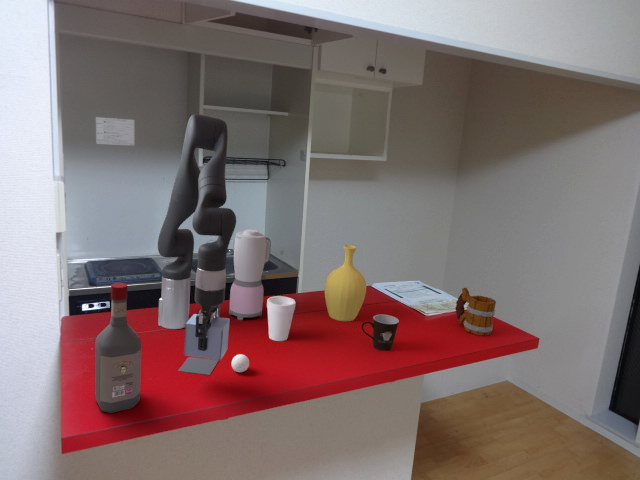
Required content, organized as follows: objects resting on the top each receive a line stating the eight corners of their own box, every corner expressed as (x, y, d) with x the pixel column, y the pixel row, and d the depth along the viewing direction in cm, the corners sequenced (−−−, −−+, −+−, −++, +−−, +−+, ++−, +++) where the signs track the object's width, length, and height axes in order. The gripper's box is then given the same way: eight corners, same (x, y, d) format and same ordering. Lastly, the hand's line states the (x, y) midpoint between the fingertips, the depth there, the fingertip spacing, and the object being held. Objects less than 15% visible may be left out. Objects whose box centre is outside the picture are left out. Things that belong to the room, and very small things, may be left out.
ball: (229, 374, 141) (230, 357, 140) (233, 366, 146) (234, 350, 145) (246, 376, 141) (247, 360, 140) (250, 368, 146) (251, 352, 145)
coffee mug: (397, 344, 173) (400, 317, 171) (392, 354, 165) (396, 326, 163) (364, 337, 176) (368, 310, 174) (358, 346, 168) (361, 318, 166)
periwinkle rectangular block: (183, 355, 129) (185, 323, 127) (192, 344, 136) (194, 313, 134) (220, 360, 129) (222, 328, 127) (227, 349, 135) (229, 318, 133)
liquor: (142, 406, 121) (145, 289, 115) (102, 416, 116) (102, 293, 110) (131, 389, 128) (134, 277, 122) (93, 397, 123) (93, 281, 117)
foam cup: (287, 344, 164) (291, 307, 161) (260, 340, 166) (263, 303, 163) (294, 334, 173) (298, 298, 170) (269, 329, 175) (272, 294, 172)
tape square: (178, 371, 140) (178, 370, 140) (188, 357, 149) (188, 356, 149) (209, 375, 139) (209, 374, 139) (218, 361, 148) (218, 360, 148)
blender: (241, 323, 178) (247, 235, 171) (221, 312, 186) (227, 228, 179) (275, 314, 189) (282, 232, 182) (255, 304, 197) (261, 225, 191)
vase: (369, 316, 197) (378, 247, 191) (350, 327, 184) (358, 254, 178) (335, 305, 206) (342, 239, 200) (313, 315, 192) (320, 245, 186)
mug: (483, 338, 187) (489, 300, 183) (446, 323, 198) (452, 287, 195) (497, 333, 194) (504, 296, 191) (461, 318, 206) (467, 284, 202)
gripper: (204, 274, 135) (201, 331, 139) (186, 291, 121) (183, 354, 125) (231, 277, 135) (227, 335, 138) (217, 295, 121) (212, 358, 124)
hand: (206, 343), depth 132 cm, fingers closed on periwinkle rectangular block, 6 cm apart
